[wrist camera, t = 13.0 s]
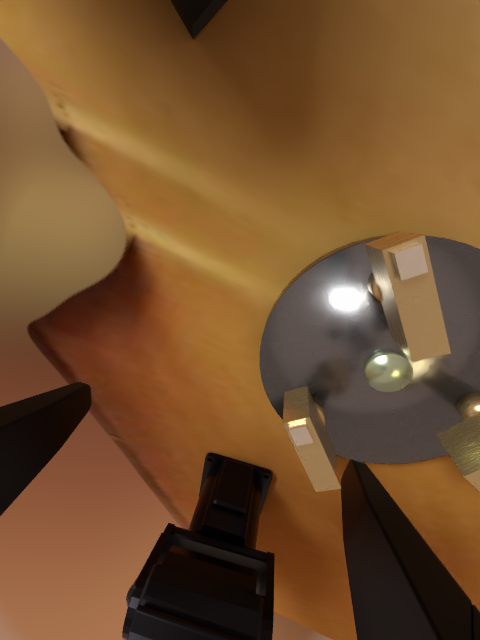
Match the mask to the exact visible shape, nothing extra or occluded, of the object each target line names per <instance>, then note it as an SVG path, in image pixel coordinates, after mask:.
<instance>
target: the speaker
mask: <svg viewBox="0 0 480 640" xmlns="http://www.w3.org/2000/svg"><path fill="white" fill-rule="evenodd" d="M226 1H227V0H171V2H172V4H173V5H174V7H175V9H176V11H177V12H178V14H179V16H180V18H181V19H182V21H183V23H184V25H185V26H186V28H187V30H188V32H189V33H190V35H191V37H192V38H193V39H194V37H195V36H196V35H197V34H198V33H199V32H200V31H201V29H202V28H203V27H204V26H205V25H206V24H207V23H208V21H209V20H210V19H211V18H212V17H213V16H214V15H215V13H216V12H217V11H218V10H219V9H220V8H221V7H222V5H223V4H224V3H225V2H226Z"/></svg>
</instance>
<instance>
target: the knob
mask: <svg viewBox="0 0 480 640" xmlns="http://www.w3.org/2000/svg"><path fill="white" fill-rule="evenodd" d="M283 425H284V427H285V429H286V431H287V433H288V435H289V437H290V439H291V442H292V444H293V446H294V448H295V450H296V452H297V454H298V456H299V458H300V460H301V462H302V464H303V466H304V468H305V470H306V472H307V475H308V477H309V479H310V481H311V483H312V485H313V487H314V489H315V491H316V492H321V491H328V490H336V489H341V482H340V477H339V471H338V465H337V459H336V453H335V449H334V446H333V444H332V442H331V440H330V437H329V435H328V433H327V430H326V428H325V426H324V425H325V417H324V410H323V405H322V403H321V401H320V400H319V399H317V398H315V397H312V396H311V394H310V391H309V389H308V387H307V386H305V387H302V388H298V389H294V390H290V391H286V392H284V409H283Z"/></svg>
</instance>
